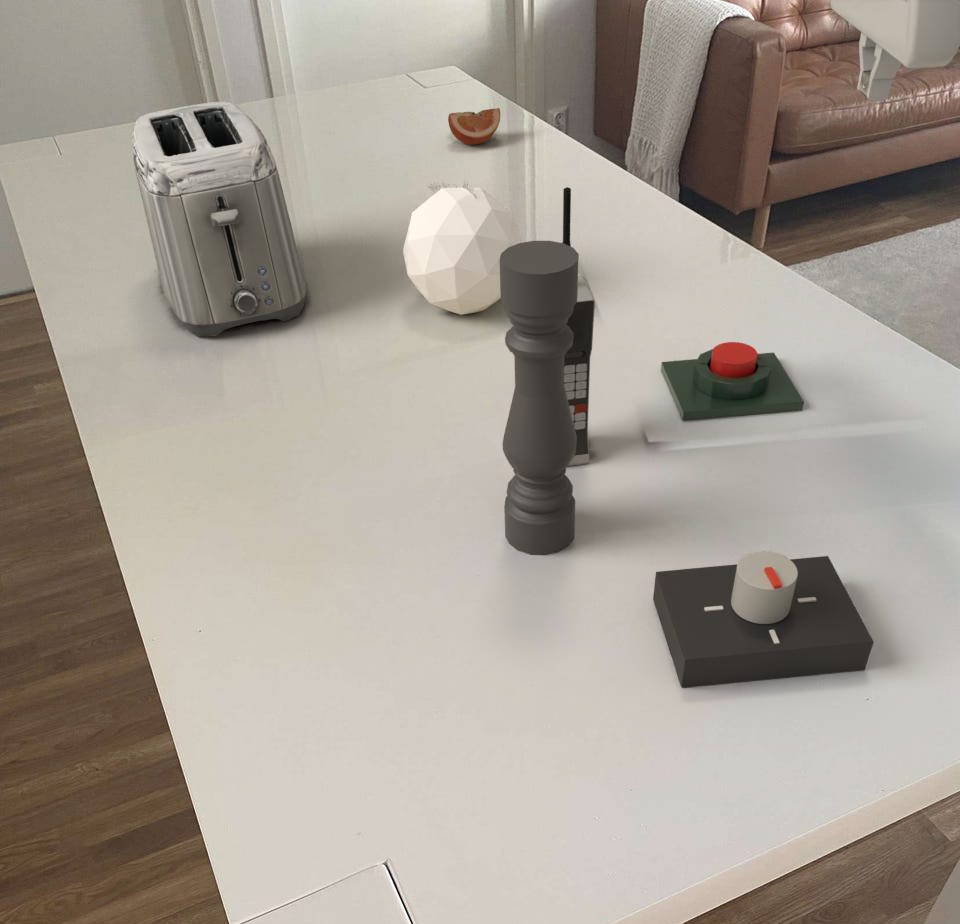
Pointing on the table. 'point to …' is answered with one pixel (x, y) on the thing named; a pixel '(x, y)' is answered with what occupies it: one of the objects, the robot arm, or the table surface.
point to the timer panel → (759, 627)
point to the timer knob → (764, 587)
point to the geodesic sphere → (459, 247)
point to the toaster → (217, 217)
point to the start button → (733, 360)
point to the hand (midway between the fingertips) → (871, 96)
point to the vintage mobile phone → (578, 352)
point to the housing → (729, 389)
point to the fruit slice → (474, 125)
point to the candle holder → (539, 394)
